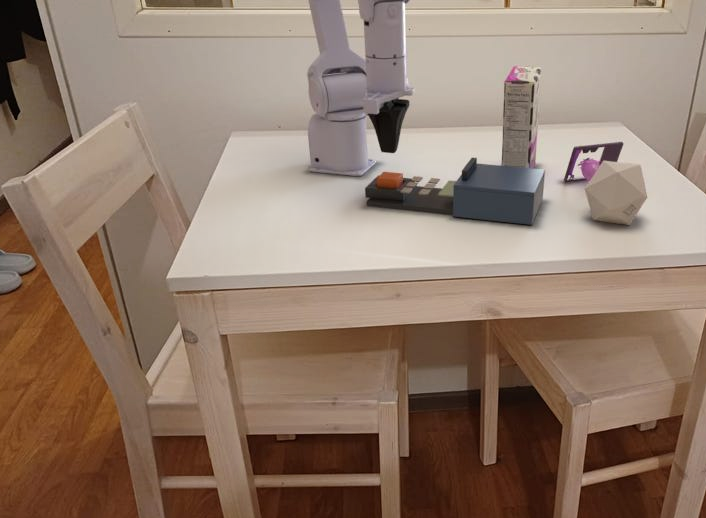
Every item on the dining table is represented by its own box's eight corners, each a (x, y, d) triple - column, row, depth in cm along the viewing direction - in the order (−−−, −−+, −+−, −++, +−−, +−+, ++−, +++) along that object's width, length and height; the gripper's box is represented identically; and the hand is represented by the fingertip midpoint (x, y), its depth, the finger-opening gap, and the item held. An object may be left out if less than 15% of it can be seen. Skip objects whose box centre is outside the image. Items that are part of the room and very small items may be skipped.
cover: (453, 216, 105) (453, 174, 102) (469, 192, 114) (470, 153, 110) (532, 225, 103) (535, 182, 99) (542, 199, 111) (546, 159, 108)
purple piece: (620, 138, 117) (571, 143, 114) (635, 158, 114) (585, 163, 112) (608, 172, 122) (561, 178, 120) (622, 192, 119) (574, 198, 117)
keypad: (400, 192, 107) (400, 191, 107) (414, 177, 113) (414, 176, 113) (453, 197, 106) (453, 196, 105) (464, 182, 111) (464, 181, 111)
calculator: (362, 206, 109) (361, 190, 108) (381, 187, 116) (380, 172, 115) (462, 217, 106) (463, 200, 105) (475, 197, 113) (476, 181, 112)
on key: (377, 187, 110) (376, 178, 109) (383, 181, 113) (383, 171, 112) (397, 189, 109) (396, 179, 108) (403, 183, 112) (403, 173, 111)
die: (613, 240, 101) (663, 183, 97) (565, 199, 102) (613, 141, 98) (618, 239, 109) (665, 186, 105) (574, 201, 110) (619, 147, 106)
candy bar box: (507, 163, 127) (512, 65, 118) (535, 165, 127) (543, 66, 118) (498, 184, 118) (503, 79, 109) (528, 186, 117) (536, 81, 108)
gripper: (396, 66, 94) (399, 168, 101) (427, 47, 106) (427, 140, 113) (346, 63, 95) (352, 164, 103) (382, 44, 107) (385, 136, 115)
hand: (389, 151), depth 108 cm, fingers closed
